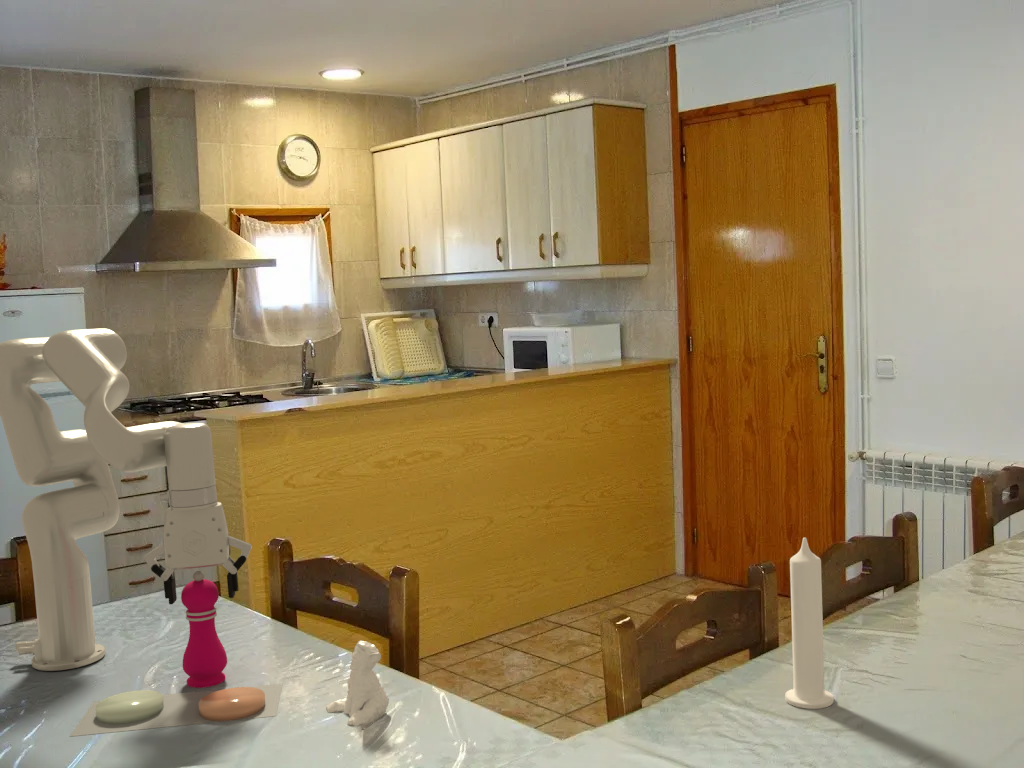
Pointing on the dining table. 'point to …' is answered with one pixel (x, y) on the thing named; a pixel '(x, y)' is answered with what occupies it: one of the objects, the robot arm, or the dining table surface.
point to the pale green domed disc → (129, 707)
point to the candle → (807, 632)
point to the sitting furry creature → (363, 688)
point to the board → (174, 713)
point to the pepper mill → (202, 634)
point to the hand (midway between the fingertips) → (202, 599)
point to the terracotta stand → (231, 703)
